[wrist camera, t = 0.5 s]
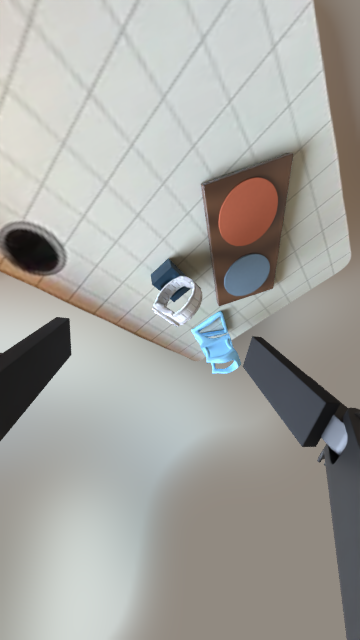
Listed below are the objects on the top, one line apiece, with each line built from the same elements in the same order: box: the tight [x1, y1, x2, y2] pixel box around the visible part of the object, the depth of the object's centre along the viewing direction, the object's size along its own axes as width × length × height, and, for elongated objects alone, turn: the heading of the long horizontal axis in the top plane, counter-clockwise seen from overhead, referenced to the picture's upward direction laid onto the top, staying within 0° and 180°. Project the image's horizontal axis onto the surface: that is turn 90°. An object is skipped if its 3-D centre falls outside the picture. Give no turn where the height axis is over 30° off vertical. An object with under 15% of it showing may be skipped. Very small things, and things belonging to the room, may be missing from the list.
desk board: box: [201, 153, 293, 306], centre depth 32 cm, size 22×12×1 cm, turn 14°
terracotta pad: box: [219, 177, 278, 246], centre depth 27 cm, size 9×9×1 cm
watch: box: [151, 258, 202, 327], centre depth 29 cm, size 6×8×11 cm
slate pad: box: [224, 254, 270, 296], centre depth 35 cm, size 9×9×1 cm
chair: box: [192, 311, 241, 374], centre depth 41 cm, size 8×8×12 cm
